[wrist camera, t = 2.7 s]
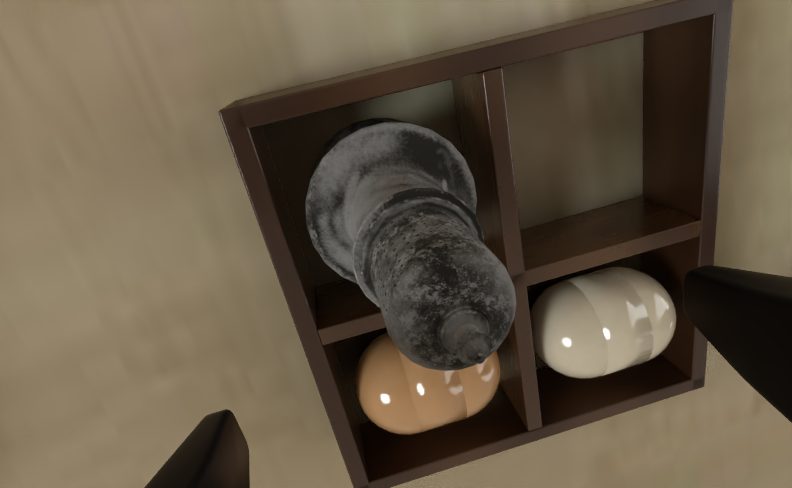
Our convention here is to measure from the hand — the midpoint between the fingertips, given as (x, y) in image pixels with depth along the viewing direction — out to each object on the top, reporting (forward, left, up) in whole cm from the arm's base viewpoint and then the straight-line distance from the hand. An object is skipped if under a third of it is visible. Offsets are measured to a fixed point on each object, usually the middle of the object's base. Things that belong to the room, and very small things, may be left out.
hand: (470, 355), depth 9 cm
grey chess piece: (0, 0, -12) cm, 12 cm away
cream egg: (-8, +8, -11) cm, 16 cm away
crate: (-4, +4, -11) cm, 13 cm away
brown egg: (0, +8, -11) cm, 14 cm away
